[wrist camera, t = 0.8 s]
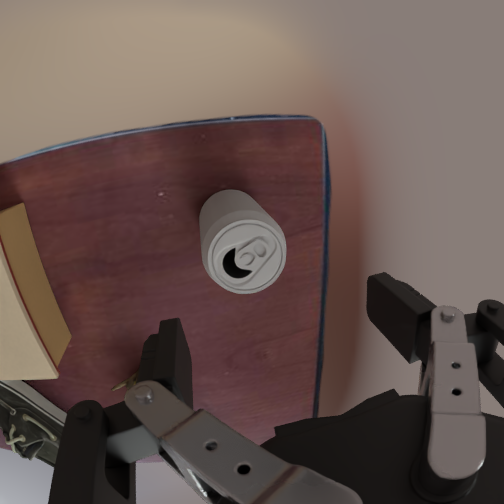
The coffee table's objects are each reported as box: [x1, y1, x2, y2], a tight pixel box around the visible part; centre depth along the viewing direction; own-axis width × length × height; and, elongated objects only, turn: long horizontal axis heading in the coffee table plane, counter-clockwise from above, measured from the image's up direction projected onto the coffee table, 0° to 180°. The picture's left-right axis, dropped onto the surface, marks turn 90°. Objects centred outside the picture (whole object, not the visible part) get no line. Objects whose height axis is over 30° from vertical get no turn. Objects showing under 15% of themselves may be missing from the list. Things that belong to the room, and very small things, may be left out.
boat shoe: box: [0, 380, 67, 467], centre depth 34 cm, size 11×31×10 cm, turn 50°
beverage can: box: [199, 189, 286, 294], centre depth 28 cm, size 6×6×12 cm
